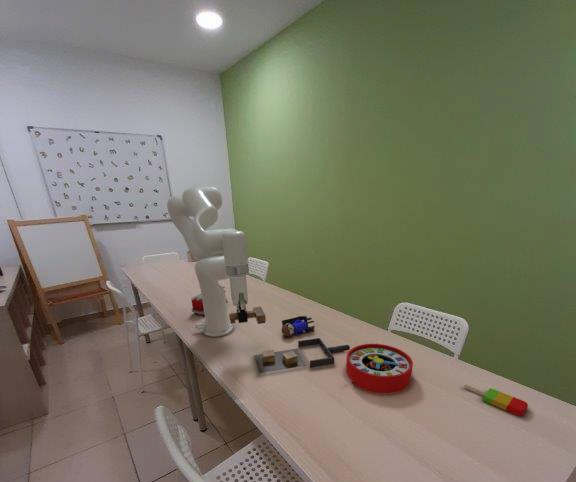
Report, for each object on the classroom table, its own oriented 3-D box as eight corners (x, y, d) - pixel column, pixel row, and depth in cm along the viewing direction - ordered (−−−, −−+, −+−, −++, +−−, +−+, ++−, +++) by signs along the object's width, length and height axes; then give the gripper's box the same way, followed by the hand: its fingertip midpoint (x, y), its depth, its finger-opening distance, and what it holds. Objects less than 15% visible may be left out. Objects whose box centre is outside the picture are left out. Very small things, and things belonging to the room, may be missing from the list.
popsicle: (521, 418, 77) (523, 412, 76) (460, 391, 88) (461, 386, 87) (527, 408, 80) (529, 402, 80) (467, 383, 91) (468, 378, 90)
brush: (231, 327, 102) (230, 319, 100) (229, 318, 110) (228, 310, 108) (265, 323, 104) (265, 314, 103) (261, 314, 112) (260, 306, 111)
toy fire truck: (230, 305, 158) (227, 287, 154) (203, 318, 143) (200, 298, 139) (217, 302, 162) (215, 284, 158) (190, 314, 148) (187, 295, 144)
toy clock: (352, 340, 106) (412, 348, 100) (351, 354, 109) (410, 363, 102) (341, 370, 89) (413, 382, 83) (340, 386, 91) (410, 399, 85)
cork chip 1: (263, 362, 103) (263, 356, 102) (262, 356, 107) (262, 350, 106) (275, 361, 104) (274, 355, 103) (273, 355, 107) (273, 349, 106)
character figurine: (317, 334, 125) (284, 342, 119) (308, 326, 131) (277, 334, 125) (318, 317, 121) (284, 325, 115) (309, 310, 127) (277, 317, 121)
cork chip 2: (287, 365, 101) (287, 358, 100) (282, 359, 105) (282, 353, 104) (297, 362, 103) (297, 355, 102) (292, 356, 106) (292, 350, 105)
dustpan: (310, 370, 100) (310, 361, 99) (298, 348, 114) (298, 340, 112) (358, 362, 104) (359, 353, 102) (341, 342, 117) (341, 334, 116)
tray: (259, 375, 98) (259, 373, 98) (254, 357, 109) (254, 355, 108) (306, 368, 101) (306, 365, 101) (296, 351, 112) (296, 348, 112)
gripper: (224, 265, 106) (230, 314, 113) (227, 276, 91) (234, 331, 99) (245, 263, 107) (250, 311, 114) (251, 274, 93) (256, 328, 100)
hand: (242, 320), depth 106 cm, fingers closed on brush, 2 cm apart
